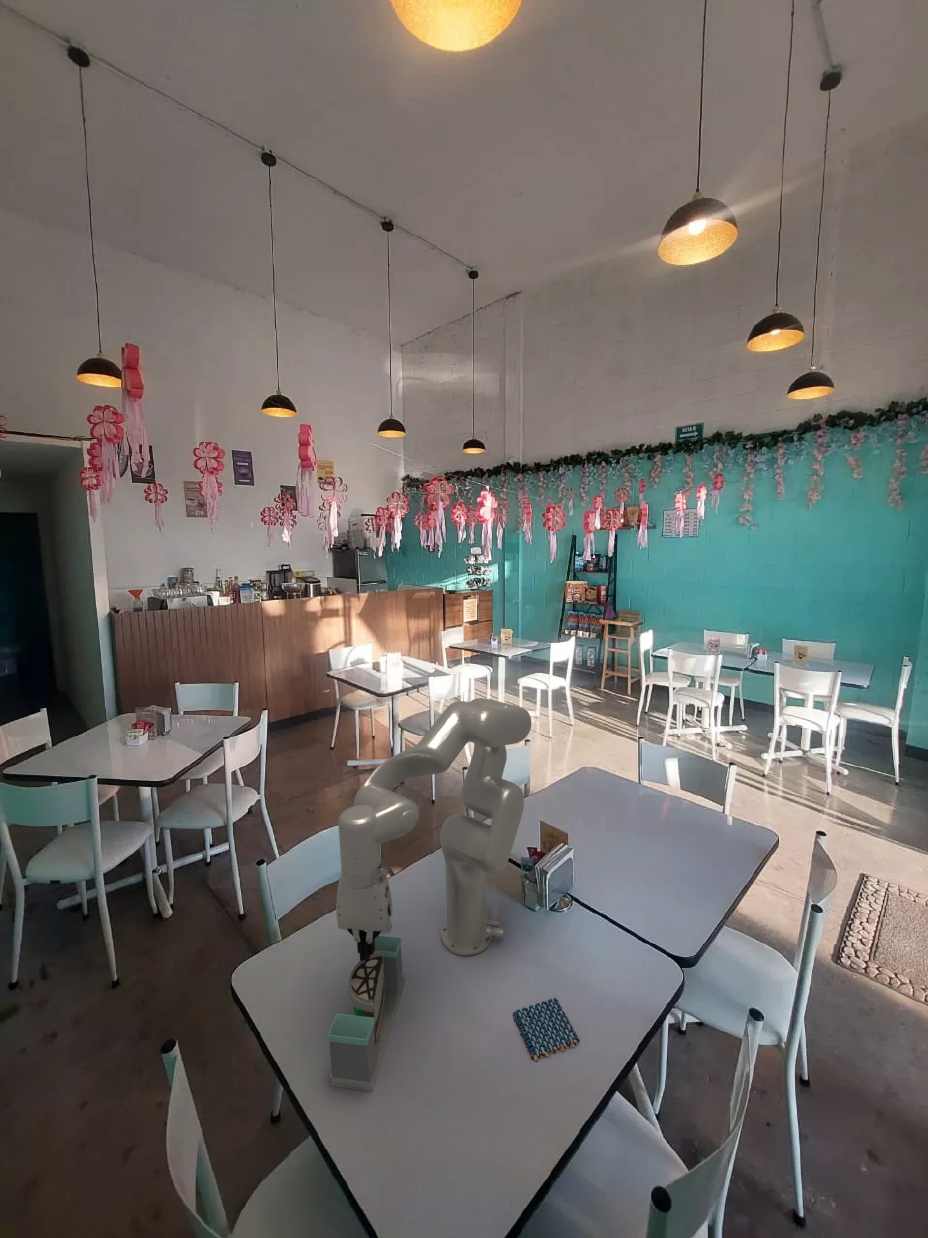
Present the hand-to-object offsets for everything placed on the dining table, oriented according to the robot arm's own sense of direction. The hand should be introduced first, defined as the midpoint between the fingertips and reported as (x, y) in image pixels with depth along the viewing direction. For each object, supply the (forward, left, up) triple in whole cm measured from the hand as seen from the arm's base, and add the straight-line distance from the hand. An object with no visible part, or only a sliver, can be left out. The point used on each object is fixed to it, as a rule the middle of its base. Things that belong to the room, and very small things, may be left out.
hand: (366, 955), depth 100 cm
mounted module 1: (0, +9, -15) cm, 18 cm away
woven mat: (-35, -4, -18) cm, 39 cm away
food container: (+1, 0, -15) cm, 15 cm away
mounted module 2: (0, -10, -15) cm, 18 cm away
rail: (0, 0, -17) cm, 17 cm away
